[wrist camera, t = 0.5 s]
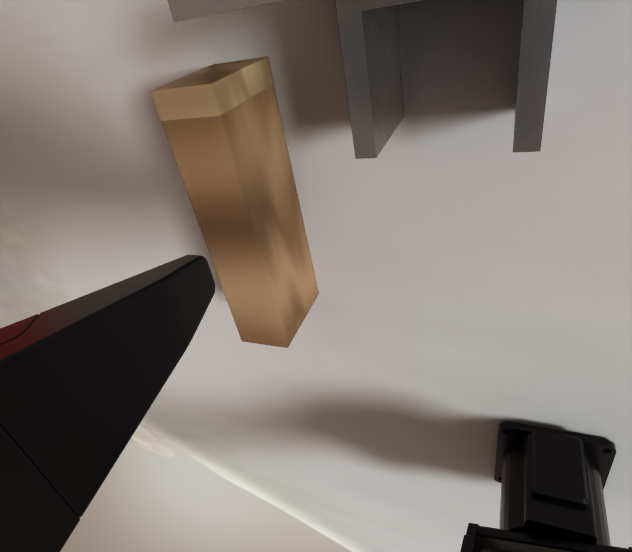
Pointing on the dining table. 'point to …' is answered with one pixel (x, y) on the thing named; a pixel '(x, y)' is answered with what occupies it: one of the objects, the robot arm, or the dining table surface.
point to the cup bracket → (385, 65)
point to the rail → (243, 193)
